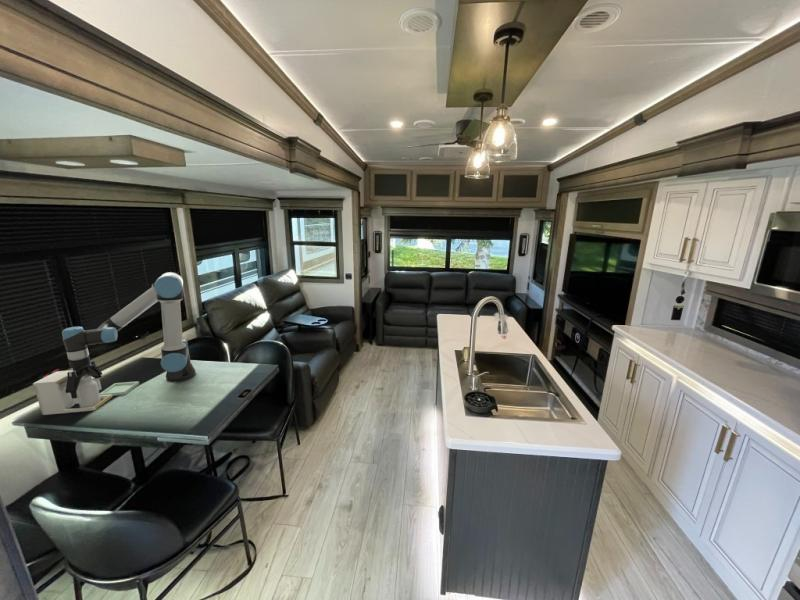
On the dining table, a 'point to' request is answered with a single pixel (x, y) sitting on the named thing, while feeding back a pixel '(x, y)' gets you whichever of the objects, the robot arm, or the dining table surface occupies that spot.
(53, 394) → the dispenser
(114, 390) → the tray
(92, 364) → the robot arm
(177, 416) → the dining table surface
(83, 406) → the pill bottle
